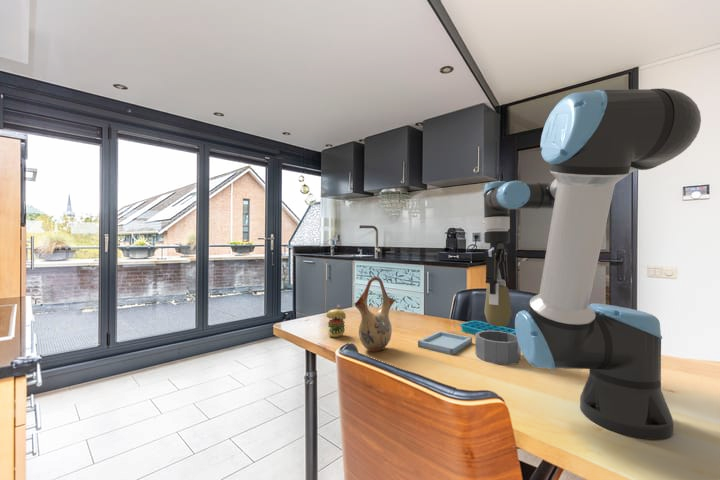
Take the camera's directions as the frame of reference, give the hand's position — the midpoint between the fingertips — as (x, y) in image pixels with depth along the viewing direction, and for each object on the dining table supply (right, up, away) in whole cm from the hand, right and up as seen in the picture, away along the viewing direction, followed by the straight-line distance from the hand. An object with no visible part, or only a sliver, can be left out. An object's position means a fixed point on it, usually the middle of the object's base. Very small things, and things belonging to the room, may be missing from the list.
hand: (497, 302), depth 104 cm
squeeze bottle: (0, -7, 0) cm, 7 cm away
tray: (-14, -17, +12) cm, 25 cm away
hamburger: (-53, -18, +24) cm, 61 cm away
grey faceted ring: (0, -17, 0) cm, 17 cm away
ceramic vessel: (-39, -18, +7) cm, 43 cm away
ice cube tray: (+7, -18, +25) cm, 31 cm away
